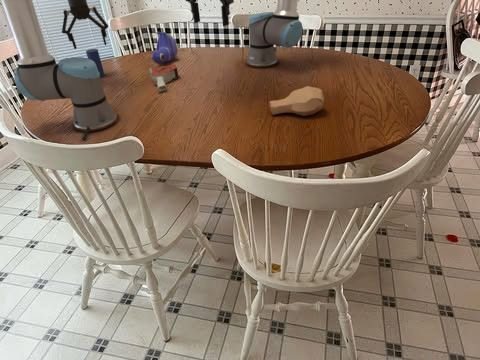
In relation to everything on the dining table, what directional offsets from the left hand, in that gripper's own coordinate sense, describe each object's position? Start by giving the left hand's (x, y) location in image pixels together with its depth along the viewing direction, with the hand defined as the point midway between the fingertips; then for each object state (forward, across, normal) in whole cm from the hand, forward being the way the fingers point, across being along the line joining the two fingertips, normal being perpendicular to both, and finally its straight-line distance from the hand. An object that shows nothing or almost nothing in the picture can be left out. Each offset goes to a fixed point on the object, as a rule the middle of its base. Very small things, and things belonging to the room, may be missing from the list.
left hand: (90, 46), depth 167 cm
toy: (+14, -33, -4) cm, 36 cm away
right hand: (-14, -49, +48) cm, 70 cm away
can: (+14, 0, 0) cm, 14 cm away
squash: (+14, -72, +76) cm, 105 cm away
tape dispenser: (+14, -29, +23) cm, 40 cm away
